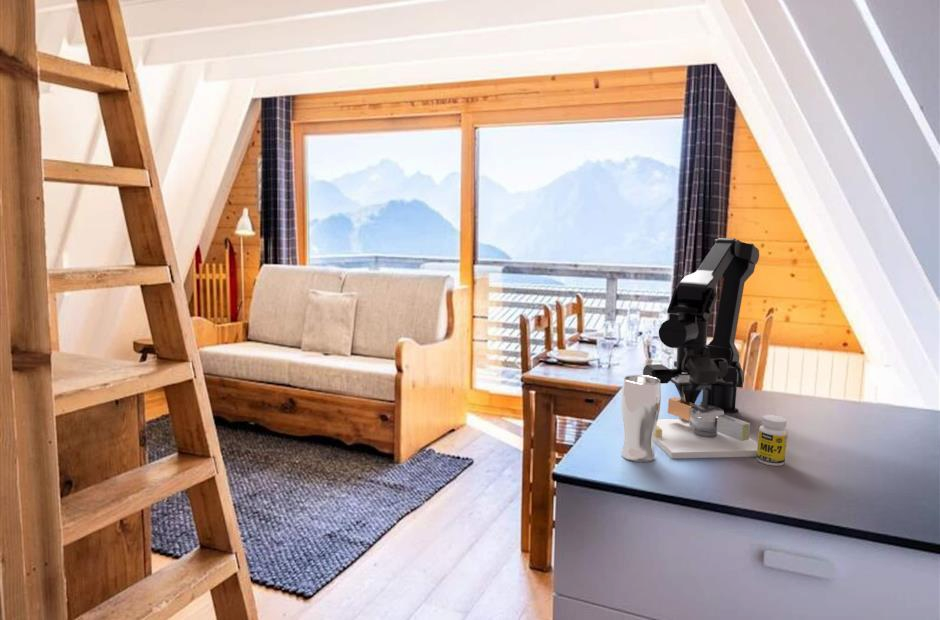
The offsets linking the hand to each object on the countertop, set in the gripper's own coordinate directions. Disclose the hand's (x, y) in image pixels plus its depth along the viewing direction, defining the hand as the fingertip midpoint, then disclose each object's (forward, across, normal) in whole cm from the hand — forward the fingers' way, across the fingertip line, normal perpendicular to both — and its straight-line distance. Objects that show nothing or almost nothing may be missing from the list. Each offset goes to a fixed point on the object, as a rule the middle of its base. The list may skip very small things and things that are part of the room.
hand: (687, 412), depth 136 cm
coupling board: (+4, -1, -7) cm, 8 cm away
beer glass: (+4, -16, -15) cm, 22 cm away
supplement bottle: (+4, +8, -19) cm, 21 cm away
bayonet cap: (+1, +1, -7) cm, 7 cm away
